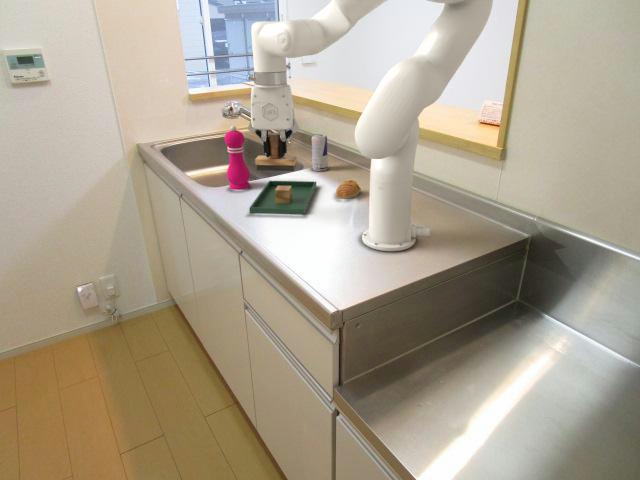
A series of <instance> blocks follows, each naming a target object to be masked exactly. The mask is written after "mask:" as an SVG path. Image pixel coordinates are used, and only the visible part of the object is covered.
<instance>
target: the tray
mask: <svg viewBox="0 0 640 480" xmlns="http://www.w3.org/2000/svg"><path fill="white" fill-rule="evenodd" d="M277 186H291V187H292V200H291V202H290V204H285V203H276V197H275V189H276V188H277ZM316 189H317V181H309V180H308V181H306V180H305V181H302V180H301V181H300V180H298V181H297V180H269V181H267V183H266V184H265V186H264V187H263V188H262V190H261V191H260V193H259V194H258V195H257V197H256V198H255V199H254V201H253V202H252V203H251V205H250V207H249V214H264V215H265V214H267V215H269V214H270V215H303V216H305V214H306V213H307V210H308V207H309V205H310V203H311V201H312V198H313V196H314V193H315V191H316Z"/></svg>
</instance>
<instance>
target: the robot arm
mask: <svg viewBox="0 0 640 480" xmlns="http://www.w3.org/2000/svg"><path fill="white" fill-rule="evenodd" d="M385 2H388V0H331V1H330V2H329V3H328V4H327V5H326V6H325V7H324V8H322V9H321V10H320V11H318V12H316V13H315V14H314V15H313V16H312V17H310V18H308V19H307V18H306V19H305V18H304V19H303V18H301V19H300V18H299V19H285V20H282V21H280V20H279V21H274V20H273V21H272V20H271V21H270V20H268V21H267V20H265V21H256V22H254V23H252V25H251V26H250V27H251V28H250V35H251V47H252V60H253V73H251V74H248V80H249V81H252V82H253V83H254V85H252V86H251V91H250V121H249V124H248V126H247V130H248V131H250V132H251V133H253V134H255V135H256V136H258V137H259V138H260V139H261V141H262V143H263V153H264V154H265V156H266V157H270V146H269V134H270V131H271V130H272V131H275V130H276V131H277V130H278V131H279V133H280V142H279V150H280V157H284V156H286V154H287V153H288V148H287V146H288V144H287V143H288V142H287V140H288V139H289V138H290V136H291V135H293V134H295V133H297V132H299V131H300V129H301V125H300V124H299V122H298V120H297V118H296V117H295V115H296V114H295V106H294V99H293V93H292V88H291V85H290V84H288V76H287V75H288V74H287V73H288V72H287V58H288V59H295V58H301V57H307V56H309V57H310V56H314V55H318V54H320V53H321V52H323V51H325V50H326V49H328V48H329V47H330V46H332V45H333V44H335V43H337V42H338V41H339V40H341V39H342V38H343V37H345V36H346V35H347V34H348V33H349V32H350V31H351V30H352V29H353V28H354V27H355V26H356V25H357V23H358V22H359V21H360V20H361V19H363V18H364V17H366V16H367V15H368V14H370V13H371V12H372V11H374V10H375V9H377V8H378V7H379V6H382V5H383V4H384V3H385ZM427 2H431V3H436V4H444V5H443V9H442V10H441V13H440V14H439V16H438V18H437V19H436V20H435V21H434V23H433V24H432V25H431V26H430V28H429V30H428V32H427V33H426V35H425V37H424V39H423V41H422V42H421V43H420V45H419V46H418V48H417V49H416V51H415V52H414V54H413V55H412V56H411V57H410V58H408V59H404V60H402V61H399V62H398V63H396V64H394V65H393V66H392V67H391V68H390V69H389V70H388V71H387V72H386V74H385V75H384V76H383V78H382V79H381V80H380V82H379V84H378V85H377V88H375V91H374V93H373V94H372V96H371V97H370V99H369V101H368V102H367V104H366V106H365V108H364V110H363V111H362V113H361V115H359V119H358V120H357V122H356V125H355V128H354V142H355V145H356V148H357V150H358V151H359V152H360V154H362V155H363V156H364V157H366V158H369V159H371V160H370V169H369V199H368V200H369V202H368V203H369V205H368V206H369V207H368V228H366V229H365V230H364V231H363V232H362V235H361V241H362V242H363V244H365V246H367V247H369V248H371V249H373V250H376V251H381V252H400V251H404V250H407V249H410V248H412V246H414V245H415V244H416V240H417V239H416V238H417V237H422V238H423V237H425V238H426V237H427V238H429V237H431V236H430V235H431V229H430V227H429V228H428V227H427V228H425V226H424V224H414V223H412V219H411V212H412V197H413V182H414V170H415V160H416V152H417V148H418V147H417V146H418V142H419V136H420V120H419V116H420V115H421V114H422V112H424V109H426V108H428V107H430V106H432V105H433V104H435V103H436V102H437V101H438V100H439V98H440V97H441V96H442V94H443V93H444V91H445V90H446V88H447V86H448V85H449V83H450V82H451V80H452V78H453V77H454V76H455V74H456V73H457V71H458V70H459V69H460V67H461V65H462V64H463V62H464V61H465V59H466V57H467V55H468V54H469V53H470V52H471V50H472V48H473V47H474V45H475V44H476V43H477V41H478V39H479V38H480V36H481V34H482V32H483V31H484V29H485V27H486V25H487V23H488V21H489V18H490V16H491V13H492V8H493V3H494V0H427Z"/></svg>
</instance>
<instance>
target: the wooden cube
mask: <svg viewBox="0 0 640 480" xmlns="http://www.w3.org/2000/svg"><path fill="white" fill-rule="evenodd" d="M275 197H276V203H285V204H290V202H291V200H292V187H291V186H277V188H276V189H275Z"/></svg>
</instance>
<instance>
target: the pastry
mask: <svg viewBox="0 0 640 480" xmlns="http://www.w3.org/2000/svg"><path fill="white" fill-rule="evenodd" d="M360 191H361V187H360V185H359V184H358V182H357V181H356V180H353V179H348V180H343V182H341V183H340V184H339V185H338V187H337V188H336V197H337V198H338V199H339V200H348V199H351V198H356V197H357V196H358V195H359V194H360Z"/></svg>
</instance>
